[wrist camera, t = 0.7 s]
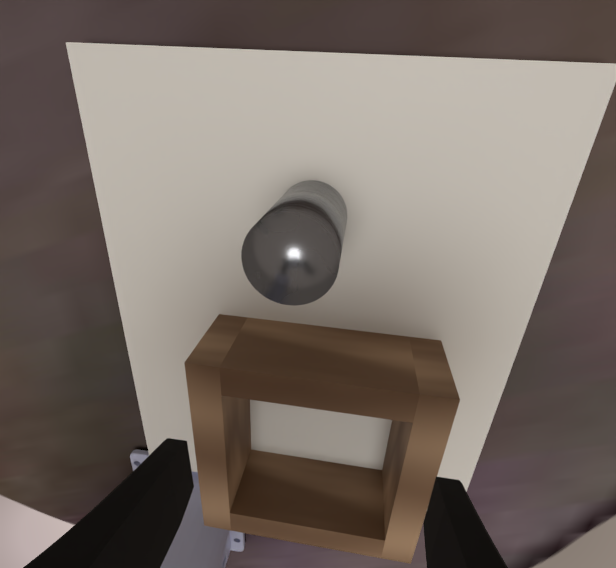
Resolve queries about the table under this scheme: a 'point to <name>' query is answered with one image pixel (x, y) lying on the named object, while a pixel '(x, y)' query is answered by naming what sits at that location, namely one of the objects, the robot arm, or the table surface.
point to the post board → (407, 198)
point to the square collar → (324, 396)
